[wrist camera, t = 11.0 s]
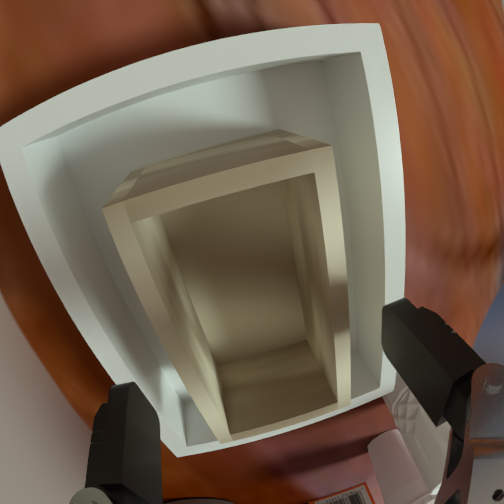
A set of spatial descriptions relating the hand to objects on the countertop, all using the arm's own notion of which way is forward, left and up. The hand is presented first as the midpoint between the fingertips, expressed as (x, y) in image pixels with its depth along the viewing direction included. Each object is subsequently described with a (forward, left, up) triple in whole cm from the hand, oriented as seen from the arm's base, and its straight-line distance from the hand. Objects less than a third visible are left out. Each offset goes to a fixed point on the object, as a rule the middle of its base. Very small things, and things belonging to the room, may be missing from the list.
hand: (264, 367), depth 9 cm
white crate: (0, 0, -7) cm, 7 cm away
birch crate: (0, 0, -6) cm, 6 cm away
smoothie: (-11, -24, -7) cm, 27 cm away
